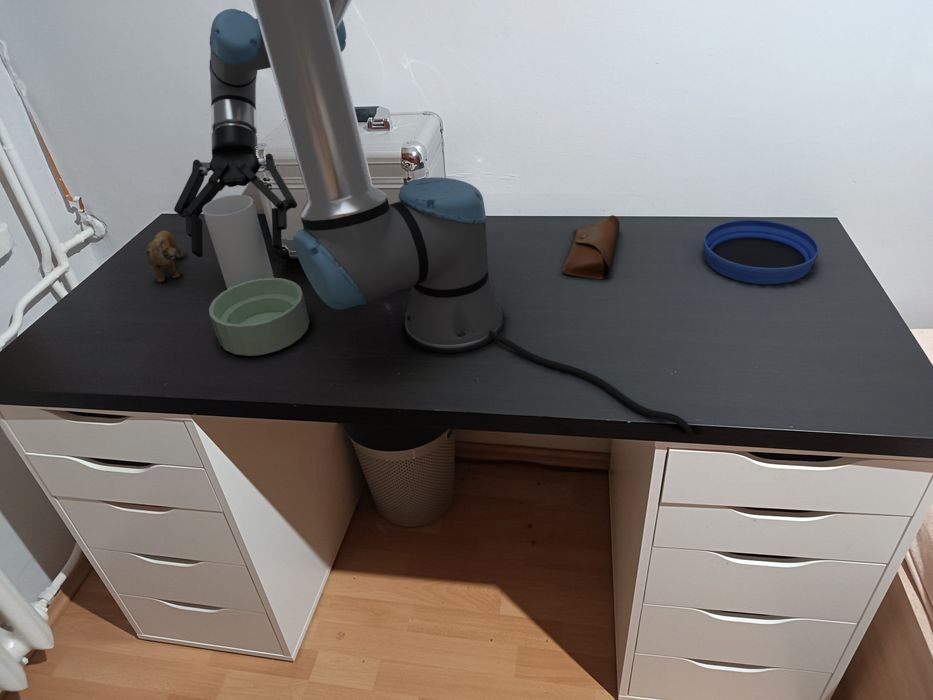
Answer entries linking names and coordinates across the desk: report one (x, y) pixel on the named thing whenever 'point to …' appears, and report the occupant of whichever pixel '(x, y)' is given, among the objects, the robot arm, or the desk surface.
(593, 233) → the sunglasses case
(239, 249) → the cup
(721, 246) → the blue plastic ring
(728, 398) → the desk surface
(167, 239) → the lion figurine
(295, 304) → the ceramic bowl
